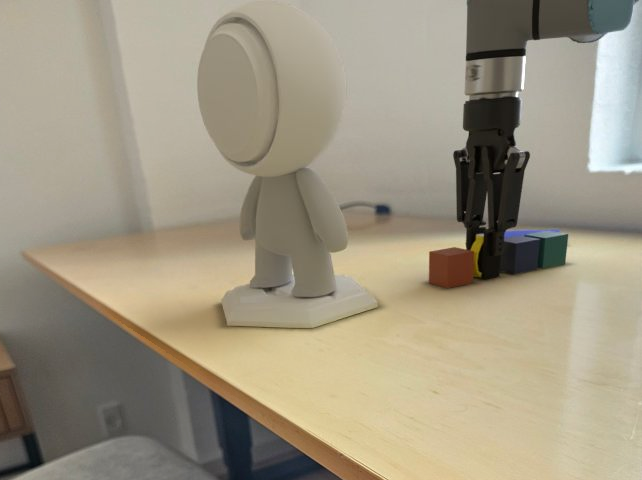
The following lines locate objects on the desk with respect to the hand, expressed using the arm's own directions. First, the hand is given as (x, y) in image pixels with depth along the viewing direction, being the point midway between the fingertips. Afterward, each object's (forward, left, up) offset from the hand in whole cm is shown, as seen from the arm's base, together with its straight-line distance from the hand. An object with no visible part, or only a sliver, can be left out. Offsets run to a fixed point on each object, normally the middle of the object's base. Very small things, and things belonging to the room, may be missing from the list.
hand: (482, 274), depth 98 cm
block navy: (-4, -4, 0) cm, 6 cm away
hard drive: (-2, -26, 0) cm, 26 cm away
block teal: (-8, -9, 0) cm, 12 cm away
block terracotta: (+4, +5, 0) cm, 6 cm away
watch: (0, 0, 0) cm, 0 cm away
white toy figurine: (+21, +20, 0) cm, 29 cm away
